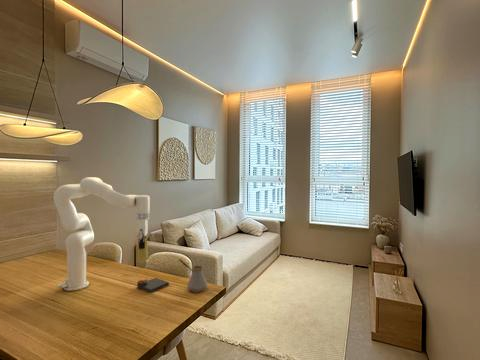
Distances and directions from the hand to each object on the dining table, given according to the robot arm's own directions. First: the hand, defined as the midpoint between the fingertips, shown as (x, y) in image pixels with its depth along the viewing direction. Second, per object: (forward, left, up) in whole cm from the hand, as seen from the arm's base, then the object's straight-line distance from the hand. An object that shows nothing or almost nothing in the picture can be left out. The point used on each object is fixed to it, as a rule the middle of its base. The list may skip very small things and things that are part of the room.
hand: (142, 246), depth 153 cm
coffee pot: (+17, -23, -24) cm, 37 cm away
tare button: (0, 0, -21) cm, 21 cm away
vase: (0, 0, -9) cm, 9 cm away
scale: (+5, -4, -24) cm, 25 cm away
